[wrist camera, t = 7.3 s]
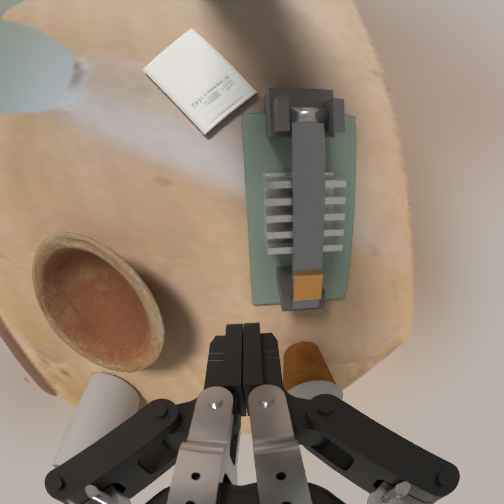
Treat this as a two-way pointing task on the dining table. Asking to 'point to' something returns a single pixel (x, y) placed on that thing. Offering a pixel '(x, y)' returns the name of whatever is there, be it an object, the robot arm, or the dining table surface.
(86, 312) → the bowl
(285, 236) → the heatsink
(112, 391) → the cylinder vase
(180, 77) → the external hard drive
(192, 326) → the dining table surface
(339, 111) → the hinge post
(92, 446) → the robot arm
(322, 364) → the disposable coffee cup
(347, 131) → the board
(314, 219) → the strap
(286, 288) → the post
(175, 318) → the dining table surface
